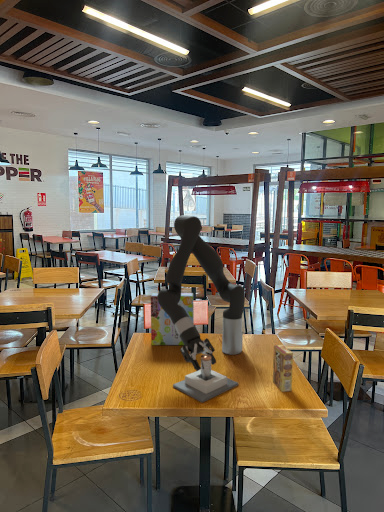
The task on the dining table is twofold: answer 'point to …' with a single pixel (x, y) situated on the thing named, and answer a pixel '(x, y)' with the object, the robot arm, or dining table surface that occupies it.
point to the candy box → (282, 368)
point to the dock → (201, 395)
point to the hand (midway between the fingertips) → (206, 366)
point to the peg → (206, 367)
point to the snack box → (168, 321)
